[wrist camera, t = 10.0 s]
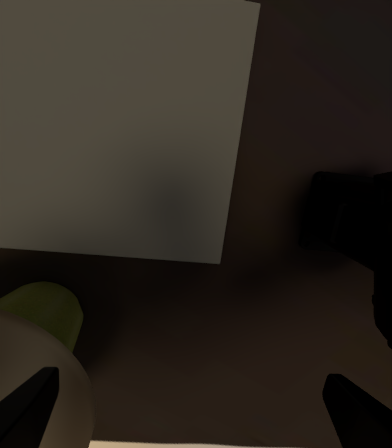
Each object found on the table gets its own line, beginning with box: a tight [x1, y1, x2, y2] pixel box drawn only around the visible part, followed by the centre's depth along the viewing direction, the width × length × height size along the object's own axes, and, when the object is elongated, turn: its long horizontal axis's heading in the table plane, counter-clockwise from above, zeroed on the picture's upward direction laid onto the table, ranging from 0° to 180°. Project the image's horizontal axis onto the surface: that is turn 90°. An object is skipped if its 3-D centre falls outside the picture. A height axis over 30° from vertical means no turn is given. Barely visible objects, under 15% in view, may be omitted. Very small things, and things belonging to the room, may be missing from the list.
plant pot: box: [0, 281, 83, 353], centre depth 17 cm, size 9×9×9 cm
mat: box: [0, 0, 260, 264], centre depth 17 cm, size 18×18×1 cm
